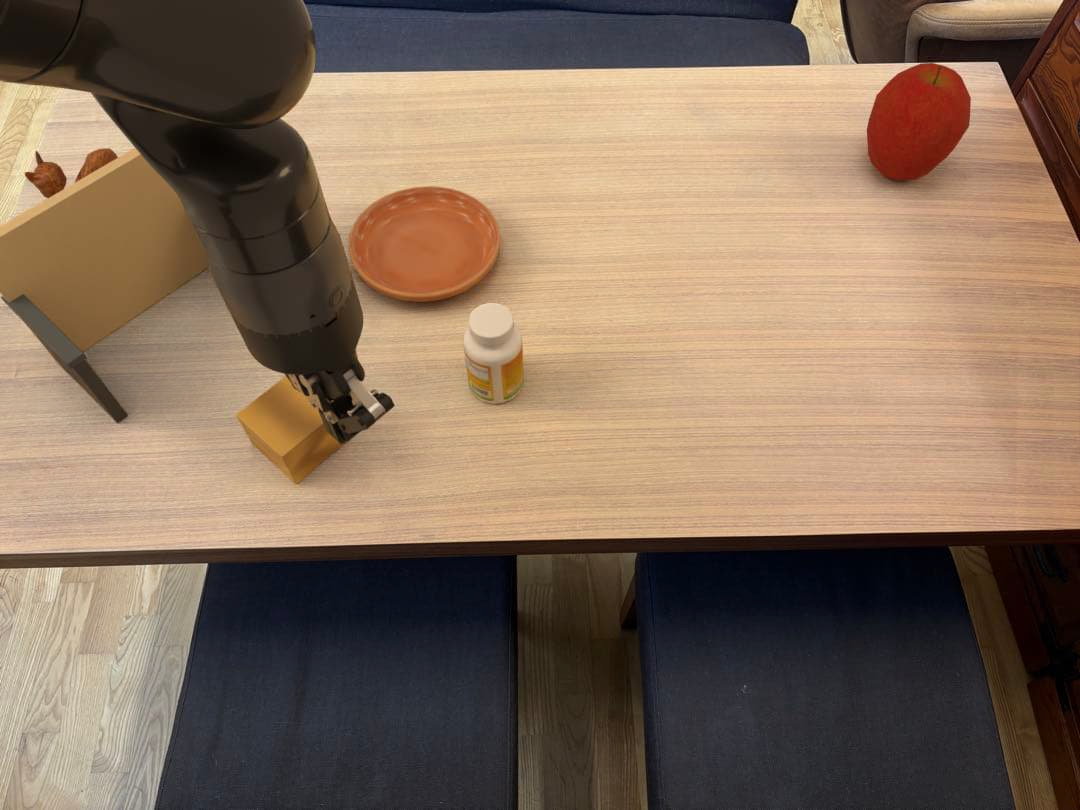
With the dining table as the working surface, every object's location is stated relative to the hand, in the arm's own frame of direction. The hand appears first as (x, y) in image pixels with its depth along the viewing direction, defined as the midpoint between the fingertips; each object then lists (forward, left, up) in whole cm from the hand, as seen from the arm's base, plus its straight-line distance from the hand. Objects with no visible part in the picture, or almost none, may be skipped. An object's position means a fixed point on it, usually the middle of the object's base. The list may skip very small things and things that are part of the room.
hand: (346, 431), depth 65 cm
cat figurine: (+6, +49, -13) cm, 51 cm away
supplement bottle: (+17, +1, -13) cm, 21 cm away
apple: (+70, -13, -13) cm, 72 cm away
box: (0, +10, -13) cm, 16 cm away
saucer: (+24, +18, -13) cm, 33 cm away
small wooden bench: (0, +30, -13) cm, 33 cm away
